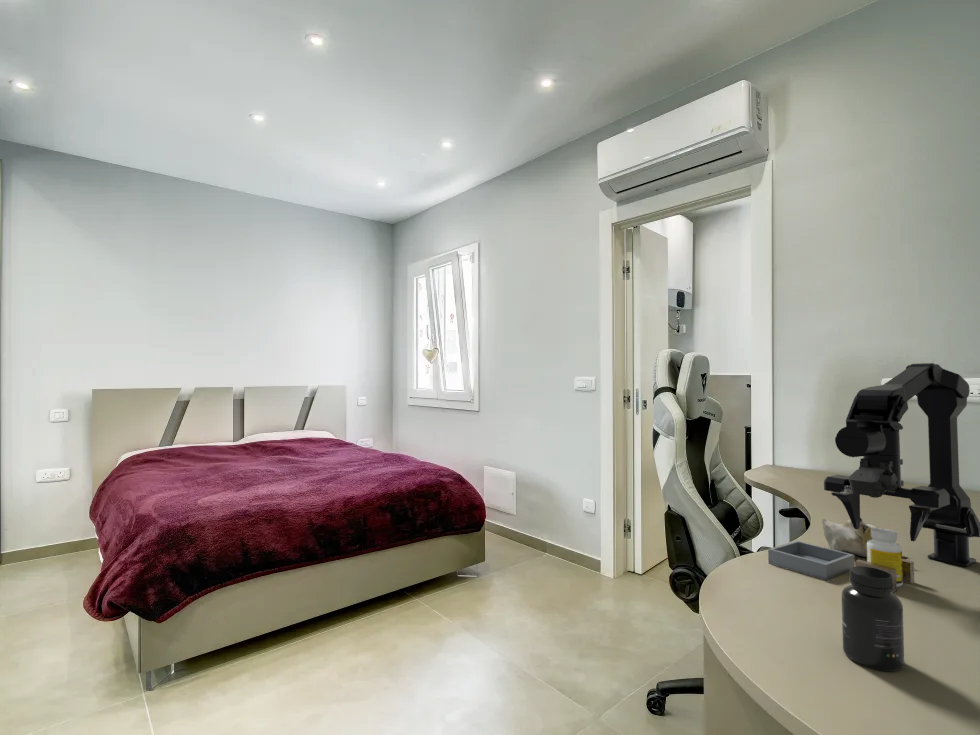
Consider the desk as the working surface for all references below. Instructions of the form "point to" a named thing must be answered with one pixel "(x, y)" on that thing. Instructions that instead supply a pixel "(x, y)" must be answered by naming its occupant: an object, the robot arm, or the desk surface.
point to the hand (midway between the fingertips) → (883, 534)
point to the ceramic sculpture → (848, 536)
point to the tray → (811, 559)
